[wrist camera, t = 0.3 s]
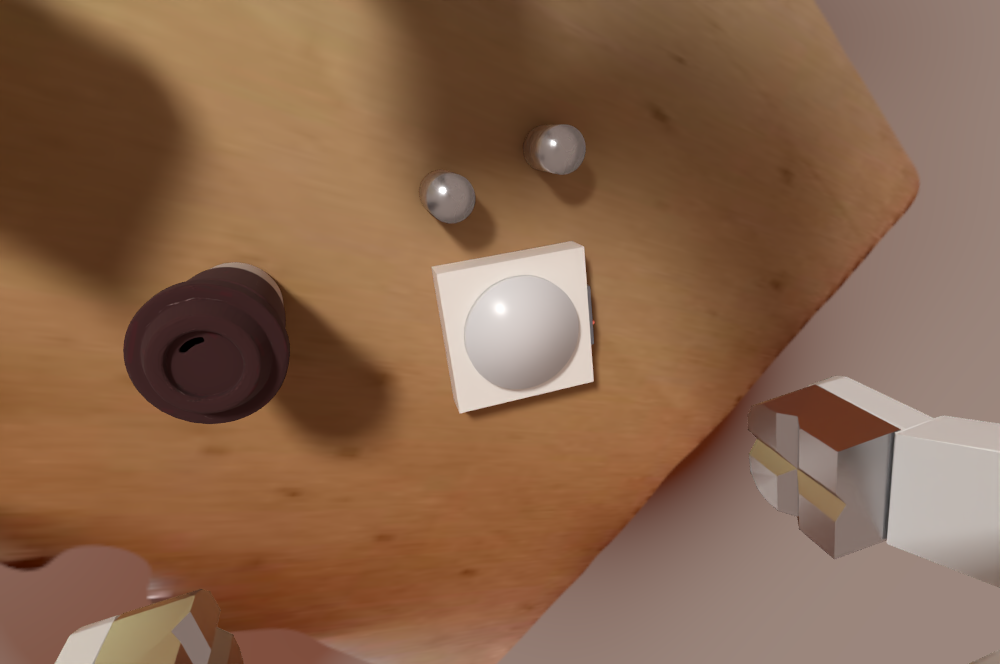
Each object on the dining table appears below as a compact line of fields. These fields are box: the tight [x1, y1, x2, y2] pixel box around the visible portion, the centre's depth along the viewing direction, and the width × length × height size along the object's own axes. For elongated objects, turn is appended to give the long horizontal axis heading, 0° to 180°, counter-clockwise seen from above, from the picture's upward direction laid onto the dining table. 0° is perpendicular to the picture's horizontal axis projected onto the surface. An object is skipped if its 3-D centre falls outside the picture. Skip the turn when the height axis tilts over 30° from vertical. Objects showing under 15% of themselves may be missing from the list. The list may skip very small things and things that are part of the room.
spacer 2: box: [523, 124, 586, 175], centre depth 51 cm, size 4×4×5 cm
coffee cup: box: [123, 262, 290, 424], centre depth 44 cm, size 10×10×15 cm
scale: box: [431, 241, 595, 413], centre depth 56 cm, size 14×15×4 cm
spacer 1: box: [419, 170, 475, 223], centre depth 50 cm, size 4×4×5 cm
